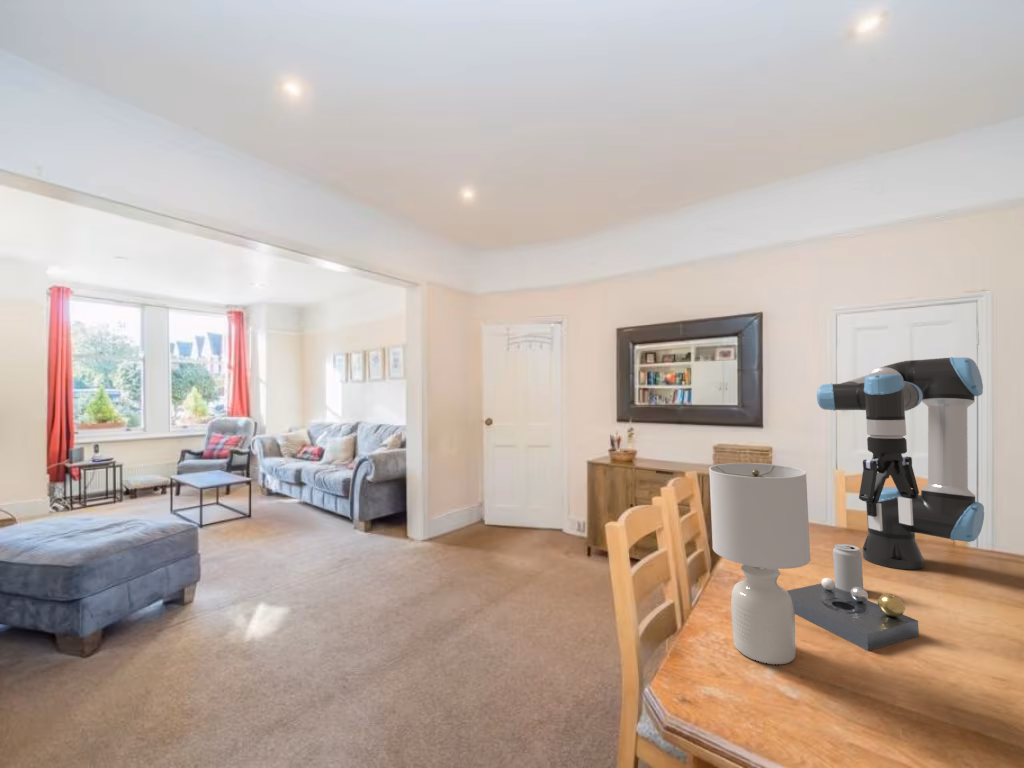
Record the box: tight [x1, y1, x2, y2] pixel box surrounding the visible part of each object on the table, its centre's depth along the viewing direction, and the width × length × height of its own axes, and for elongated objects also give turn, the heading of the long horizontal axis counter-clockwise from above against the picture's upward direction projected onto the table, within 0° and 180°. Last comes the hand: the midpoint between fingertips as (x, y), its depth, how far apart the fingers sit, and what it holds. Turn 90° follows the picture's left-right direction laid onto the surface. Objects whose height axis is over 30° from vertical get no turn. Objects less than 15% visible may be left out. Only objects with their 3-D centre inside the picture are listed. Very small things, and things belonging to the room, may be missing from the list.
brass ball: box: [877, 593, 906, 617], centre depth 104 cm, size 5×5×5 cm
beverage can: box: [832, 543, 864, 593], centre depth 125 cm, size 6×6×12 cm
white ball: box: [820, 577, 836, 590], centre depth 118 cm, size 3×3×3 cm
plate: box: [786, 583, 920, 652], centre depth 110 cm, size 16×22×4 cm
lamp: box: [708, 462, 811, 666], centre depth 99 cm, size 19×19×39 cm
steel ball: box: [850, 587, 869, 602], centre depth 111 cm, size 4×4×4 cm
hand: (891, 526), depth 111 cm, fingers open, 10 cm apart
